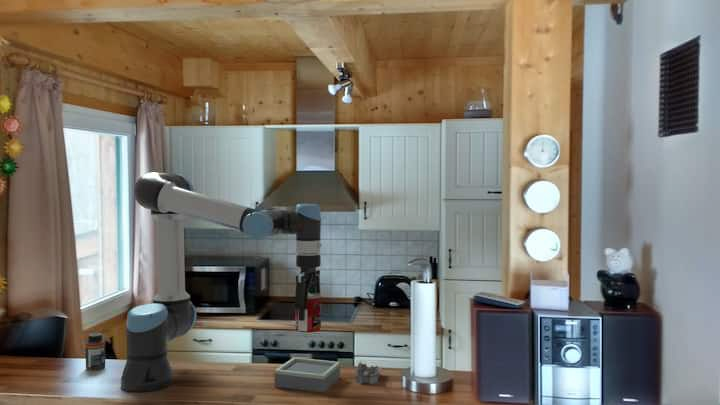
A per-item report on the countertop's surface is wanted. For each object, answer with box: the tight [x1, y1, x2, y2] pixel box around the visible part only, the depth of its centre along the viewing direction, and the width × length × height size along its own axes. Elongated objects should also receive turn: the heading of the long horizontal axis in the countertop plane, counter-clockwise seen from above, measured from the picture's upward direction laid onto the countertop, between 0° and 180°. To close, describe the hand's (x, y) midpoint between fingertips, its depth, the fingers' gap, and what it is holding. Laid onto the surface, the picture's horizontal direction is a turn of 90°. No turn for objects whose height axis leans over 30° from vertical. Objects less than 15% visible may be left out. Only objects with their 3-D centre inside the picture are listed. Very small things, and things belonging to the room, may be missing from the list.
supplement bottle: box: [85, 332, 106, 371], centre depth 188 cm, size 6×6×11 cm
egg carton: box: [354, 361, 382, 385], centre depth 180 cm, size 11×8×4 cm
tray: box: [274, 356, 341, 394], centre depth 176 cm, size 16×14×5 cm
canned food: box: [294, 292, 322, 333], centre depth 176 cm, size 8×8×11 cm
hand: (308, 327), depth 176 cm, fingers closed on canned food, 8 cm apart
